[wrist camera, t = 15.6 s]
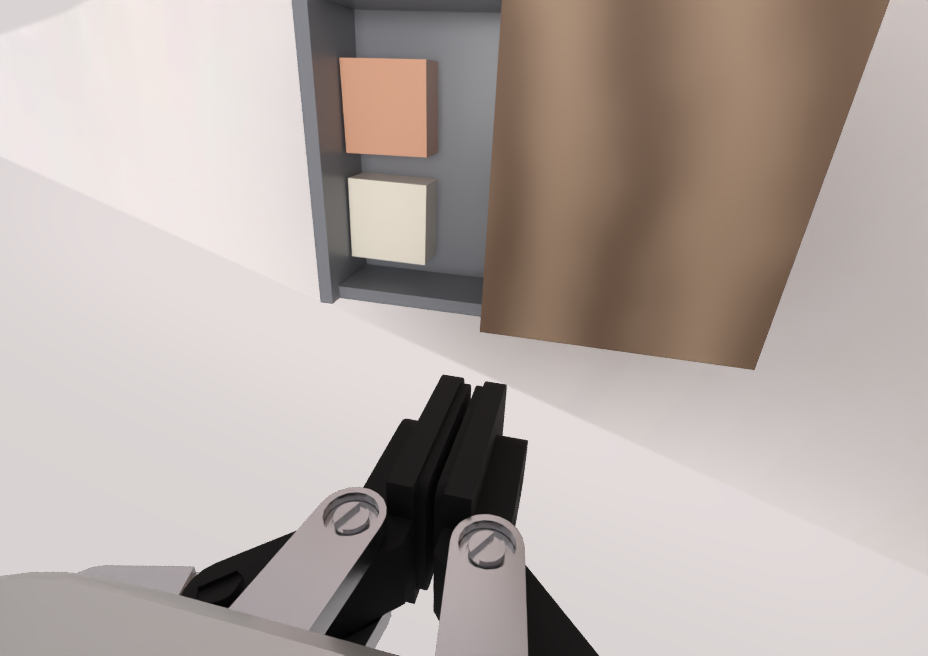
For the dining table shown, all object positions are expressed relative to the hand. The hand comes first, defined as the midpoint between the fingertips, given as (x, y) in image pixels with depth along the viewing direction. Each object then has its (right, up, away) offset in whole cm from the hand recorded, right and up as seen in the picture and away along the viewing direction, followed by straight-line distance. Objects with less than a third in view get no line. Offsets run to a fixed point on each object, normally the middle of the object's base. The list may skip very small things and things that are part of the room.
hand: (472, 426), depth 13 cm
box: (-2, +14, +18) cm, 23 cm away
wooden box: (+10, +12, +16) cm, 22 cm away
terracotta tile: (-5, +15, +15) cm, 22 cm away
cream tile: (-5, +9, +18) cm, 21 cm away
